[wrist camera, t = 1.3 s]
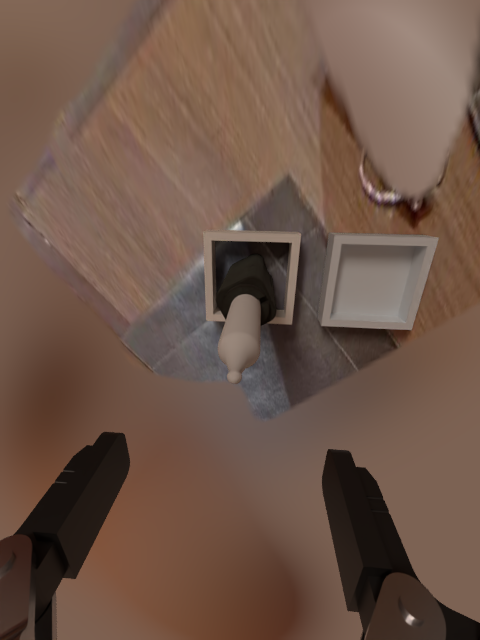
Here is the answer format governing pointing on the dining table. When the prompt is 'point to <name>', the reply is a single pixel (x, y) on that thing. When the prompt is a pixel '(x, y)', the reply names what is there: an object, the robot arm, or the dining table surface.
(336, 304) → the grey tray
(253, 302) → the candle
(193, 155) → the dining table surface
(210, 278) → the grey frame
